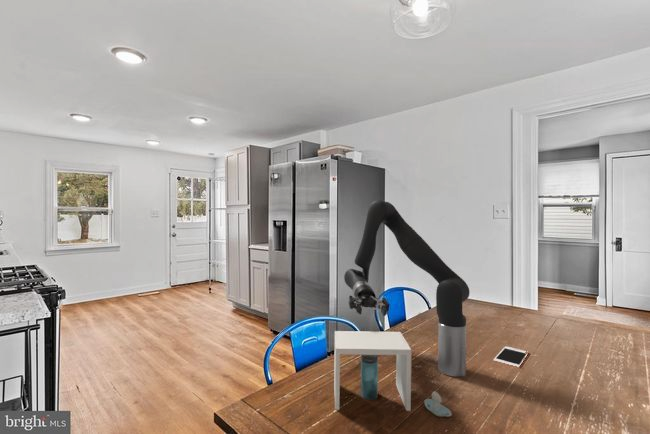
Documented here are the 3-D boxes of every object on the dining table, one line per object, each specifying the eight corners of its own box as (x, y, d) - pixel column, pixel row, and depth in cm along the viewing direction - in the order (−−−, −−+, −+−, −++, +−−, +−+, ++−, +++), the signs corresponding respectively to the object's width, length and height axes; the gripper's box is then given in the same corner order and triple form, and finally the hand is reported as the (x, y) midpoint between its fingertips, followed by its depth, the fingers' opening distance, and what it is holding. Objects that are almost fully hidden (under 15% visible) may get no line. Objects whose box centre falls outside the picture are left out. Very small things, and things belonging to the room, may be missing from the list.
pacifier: (435, 403, 97) (421, 409, 93) (436, 382, 97) (422, 387, 93) (456, 416, 90) (442, 423, 87) (457, 394, 90) (443, 399, 87)
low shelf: (334, 384, 106) (334, 331, 106) (399, 385, 106) (400, 331, 106) (335, 409, 92) (335, 348, 92) (410, 410, 92) (411, 349, 92)
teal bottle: (379, 392, 102) (379, 353, 102) (375, 401, 97) (375, 360, 97) (363, 388, 104) (363, 351, 104) (358, 397, 99) (359, 357, 99)
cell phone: (529, 354, 132) (529, 351, 132) (519, 369, 119) (519, 367, 119) (505, 348, 138) (505, 345, 138) (493, 362, 125) (493, 359, 125)
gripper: (346, 283, 125) (353, 301, 109) (382, 285, 126) (394, 303, 110) (344, 301, 126) (351, 321, 110) (380, 303, 127) (391, 324, 111)
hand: (372, 312), depth 110 cm, fingers open, 8 cm apart
